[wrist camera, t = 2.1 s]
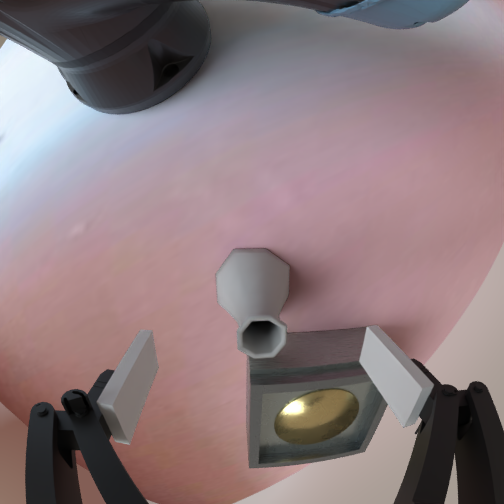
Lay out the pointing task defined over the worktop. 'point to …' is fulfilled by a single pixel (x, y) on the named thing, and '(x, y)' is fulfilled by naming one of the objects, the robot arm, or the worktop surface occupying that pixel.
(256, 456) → the grey boxy piece
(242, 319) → the flask
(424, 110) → the worktop surface
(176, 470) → the worktop surface
